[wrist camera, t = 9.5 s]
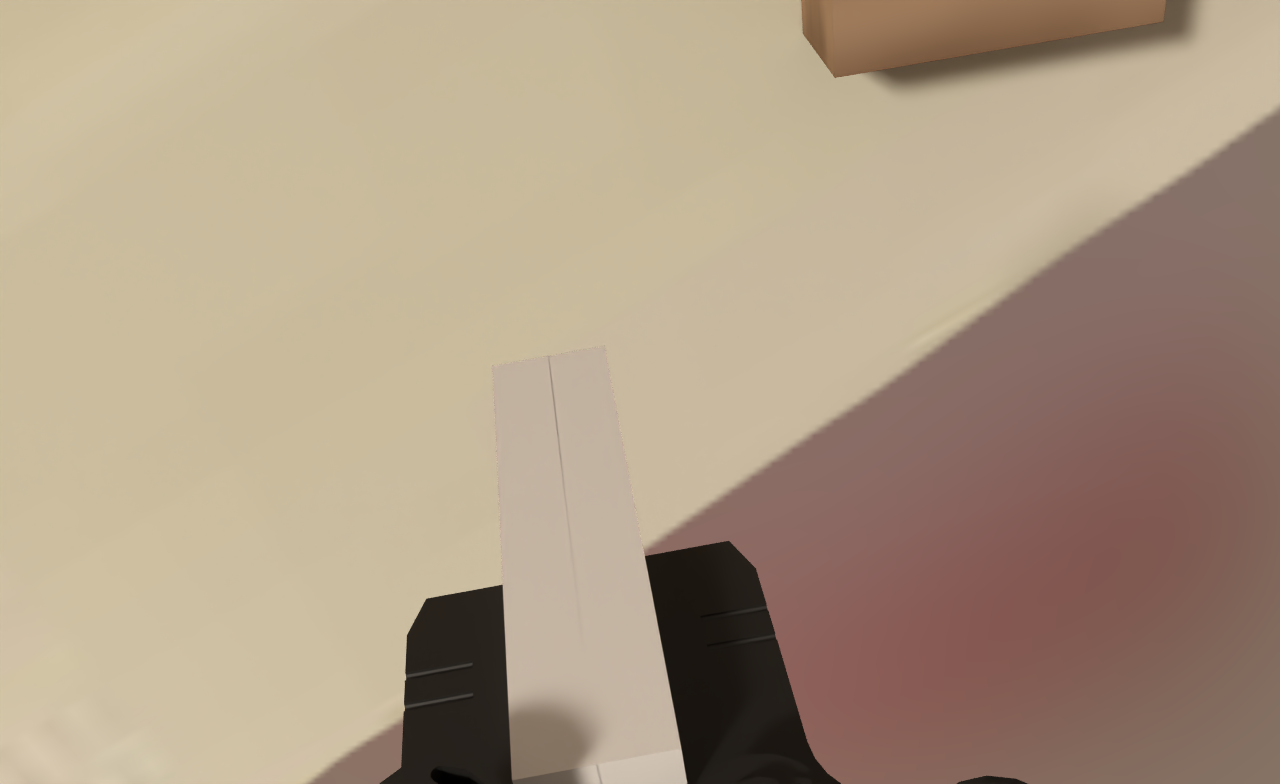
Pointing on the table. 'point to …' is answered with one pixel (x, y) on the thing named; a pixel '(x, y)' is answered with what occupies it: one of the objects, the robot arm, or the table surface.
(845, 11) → the brown flat block
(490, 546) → the table surface
